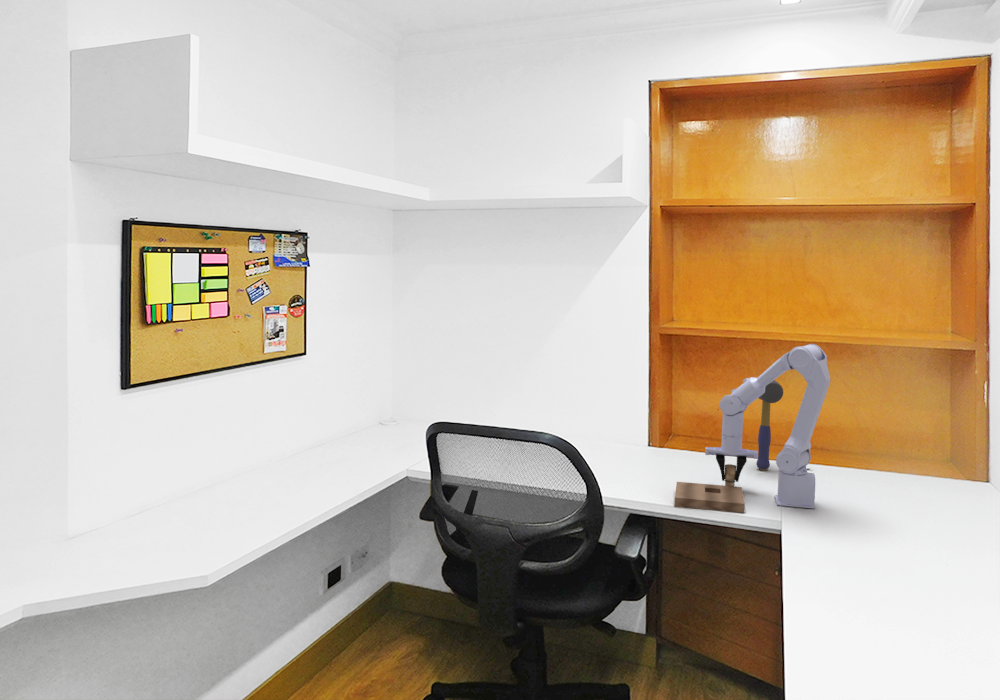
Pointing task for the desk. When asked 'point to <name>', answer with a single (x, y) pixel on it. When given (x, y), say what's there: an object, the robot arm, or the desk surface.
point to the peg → (730, 474)
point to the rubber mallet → (767, 423)
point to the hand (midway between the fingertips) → (729, 480)
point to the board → (709, 497)
